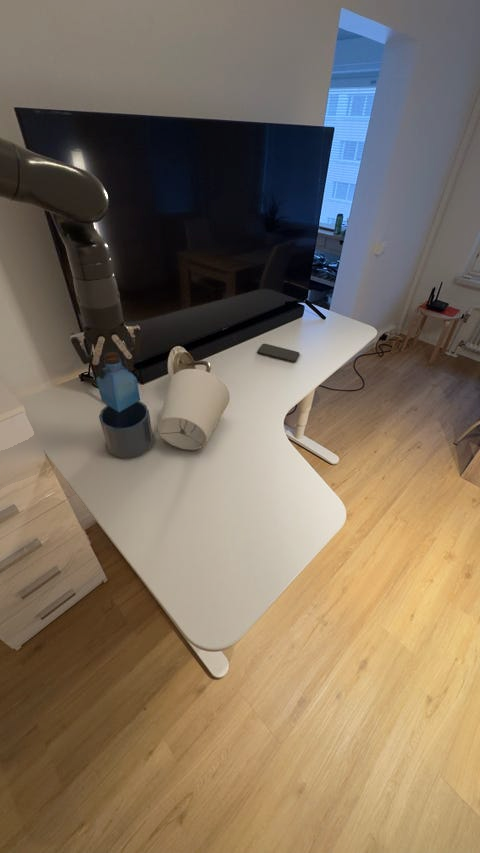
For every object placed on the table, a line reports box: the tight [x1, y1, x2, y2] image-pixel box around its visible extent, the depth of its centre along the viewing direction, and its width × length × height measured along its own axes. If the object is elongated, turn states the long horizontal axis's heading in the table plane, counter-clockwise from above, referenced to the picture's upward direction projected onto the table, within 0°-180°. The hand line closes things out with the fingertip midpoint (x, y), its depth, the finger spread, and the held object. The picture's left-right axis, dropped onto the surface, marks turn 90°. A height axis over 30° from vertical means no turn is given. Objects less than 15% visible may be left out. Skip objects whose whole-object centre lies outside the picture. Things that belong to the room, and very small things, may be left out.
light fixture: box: [157, 345, 231, 451], centre depth 96 cm, size 17×19×34 cm
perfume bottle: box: [95, 351, 141, 412], centre depth 77 cm, size 6×6×12 cm
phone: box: [257, 343, 300, 363], centre depth 130 cm, size 7×1×15 cm
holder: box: [98, 400, 154, 460], centre depth 87 cm, size 12×12×10 cm
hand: (115, 373), depth 76 cm, fingers closed on perfume bottle, 5 cm apart
